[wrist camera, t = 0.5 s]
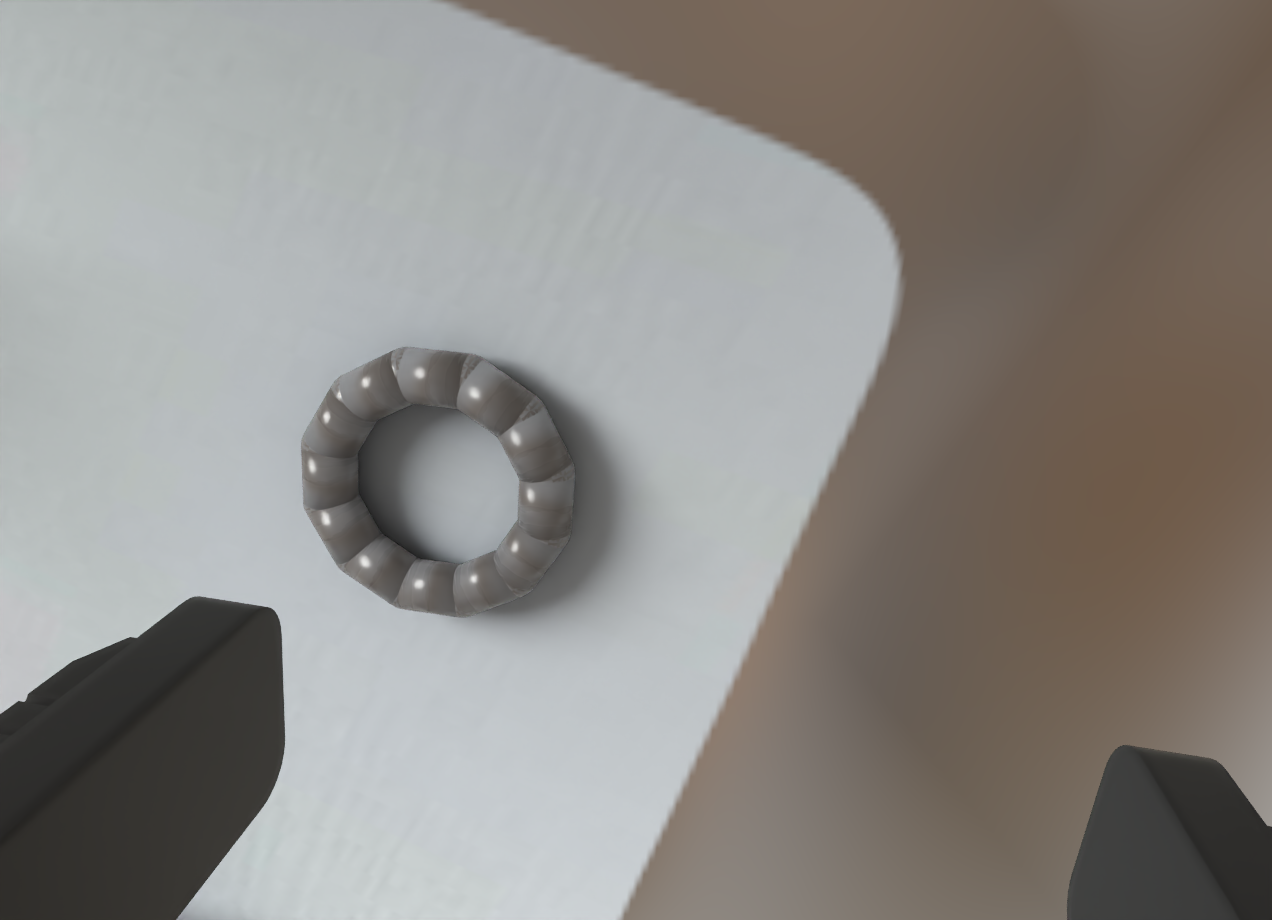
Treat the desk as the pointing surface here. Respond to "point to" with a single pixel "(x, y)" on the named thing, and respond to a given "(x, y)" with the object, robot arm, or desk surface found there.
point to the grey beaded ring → (488, 404)
